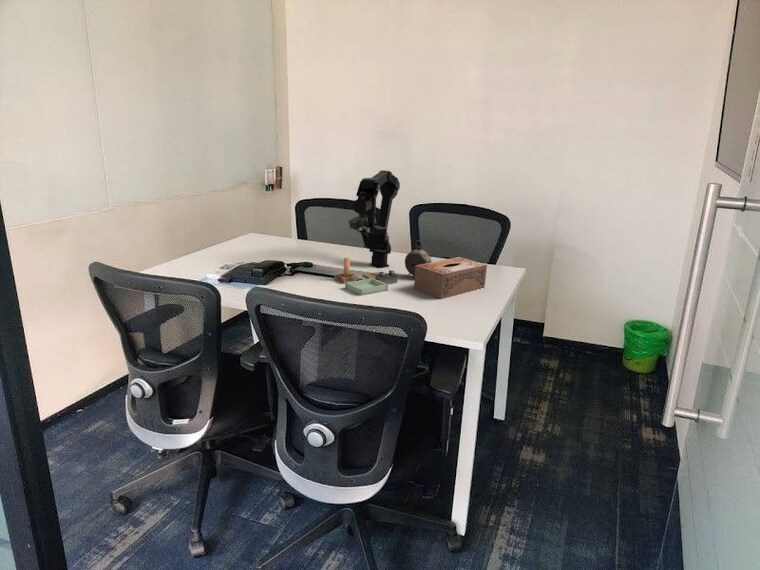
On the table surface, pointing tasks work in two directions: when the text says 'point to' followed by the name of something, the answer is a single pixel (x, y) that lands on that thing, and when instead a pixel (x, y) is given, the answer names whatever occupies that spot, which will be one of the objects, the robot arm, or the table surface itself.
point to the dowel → (346, 267)
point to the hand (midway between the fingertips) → (366, 247)
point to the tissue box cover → (449, 277)
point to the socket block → (345, 278)
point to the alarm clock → (416, 259)
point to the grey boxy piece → (387, 277)
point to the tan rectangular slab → (370, 275)
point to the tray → (366, 286)
